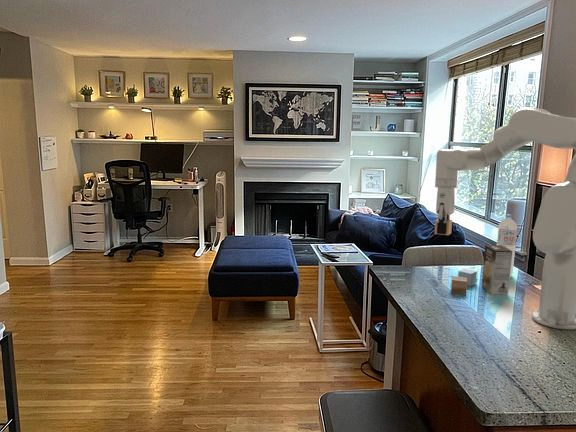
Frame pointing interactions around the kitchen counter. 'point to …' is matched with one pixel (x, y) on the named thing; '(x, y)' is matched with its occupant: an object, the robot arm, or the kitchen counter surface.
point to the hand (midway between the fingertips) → (443, 232)
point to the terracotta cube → (448, 229)
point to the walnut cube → (459, 285)
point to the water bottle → (507, 236)
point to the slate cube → (468, 276)
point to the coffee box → (496, 269)
